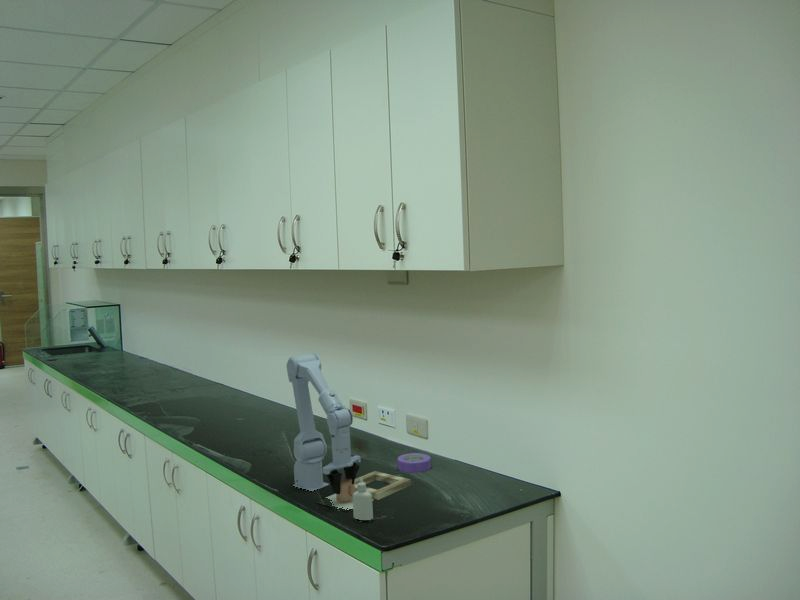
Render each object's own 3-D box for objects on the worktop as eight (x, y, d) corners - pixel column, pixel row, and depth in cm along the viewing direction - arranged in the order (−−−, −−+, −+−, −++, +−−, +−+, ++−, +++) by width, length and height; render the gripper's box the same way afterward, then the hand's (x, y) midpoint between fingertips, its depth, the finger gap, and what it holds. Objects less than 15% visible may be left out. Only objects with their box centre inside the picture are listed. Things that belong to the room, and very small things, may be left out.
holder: (342, 490, 228) (341, 484, 228) (375, 476, 240) (375, 471, 240) (378, 500, 218) (377, 493, 218) (411, 485, 230) (410, 479, 230)
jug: (343, 494, 221) (342, 476, 221) (359, 498, 217) (358, 479, 217) (332, 499, 217) (331, 480, 217) (348, 503, 213) (347, 484, 213)
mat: (314, 503, 218) (314, 502, 218) (342, 491, 227) (342, 490, 227) (346, 512, 209) (346, 511, 209) (373, 500, 218) (373, 499, 218)
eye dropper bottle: (364, 514, 206) (362, 474, 206) (375, 520, 202) (373, 479, 201) (352, 518, 204) (349, 478, 203) (362, 524, 199) (359, 483, 198)
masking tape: (434, 463, 253) (433, 453, 252) (426, 474, 241) (426, 463, 241) (402, 462, 256) (402, 452, 255) (394, 472, 245) (393, 462, 244)
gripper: (333, 455, 209) (335, 500, 210) (366, 444, 220) (368, 486, 221) (317, 452, 213) (319, 495, 214) (350, 440, 224) (352, 482, 225)
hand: (343, 490), depth 218 cm, fingers open, 5 cm apart
